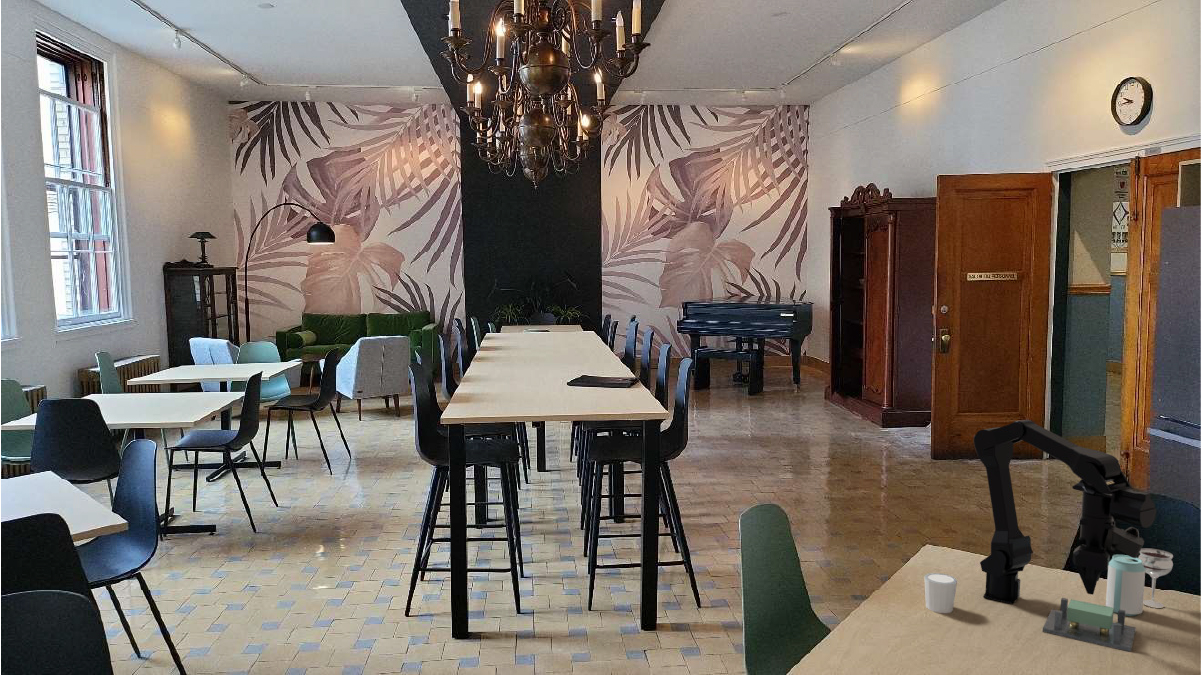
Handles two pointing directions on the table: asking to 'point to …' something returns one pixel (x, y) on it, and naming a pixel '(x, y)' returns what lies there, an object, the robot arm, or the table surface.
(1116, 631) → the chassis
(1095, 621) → the green rectangular block
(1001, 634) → the table surface
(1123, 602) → the can
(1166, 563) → the wineglass
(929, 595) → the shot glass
